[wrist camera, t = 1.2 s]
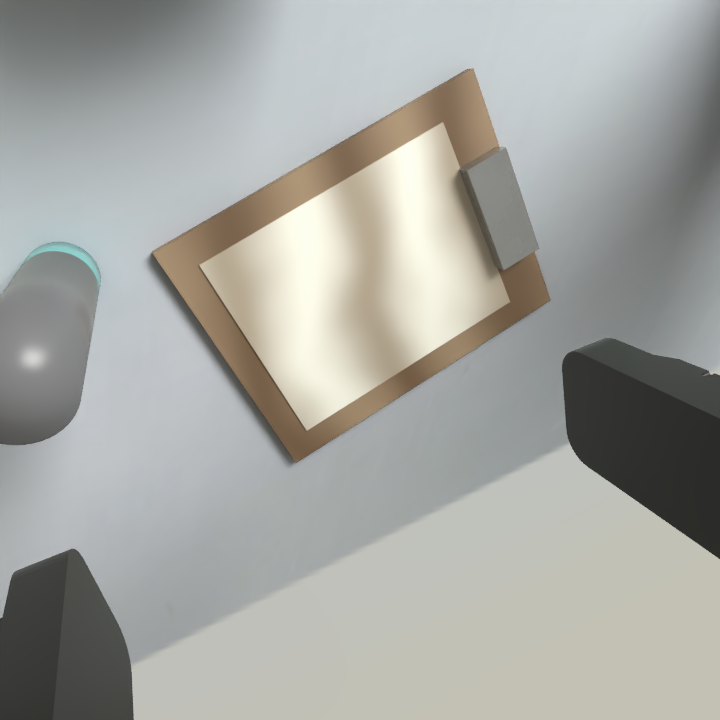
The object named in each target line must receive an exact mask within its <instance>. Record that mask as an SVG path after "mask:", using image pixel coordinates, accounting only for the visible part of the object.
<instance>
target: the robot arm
mask: <svg viewBox="0 0 720 720" xmlns="http://www.w3.org/2000/svg"><path fill="white" fill-rule="evenodd" d="M562 373H563V387H564V400H565V414H566V428H567V435H568V439H569V442H570V444H571V446H572V449H573V450H574V452H575V453H576V455H577V456H578V458H579V459H580V460H581V461H582V462H583V463H584V464H585V465H587V466H588V467H589V468H590V469H592V470H593V471H595V472H596V473H598V474H599V475H601V476H602V477H603V478H605V479H606V480H608V481H609V482H611V483H612V484H614V485H615V486H616V487H618V488H619V489H621V490H622V491H623V492H625V493H626V494H628V495H629V496H630V497H632V498H633V499H635V500H636V501H638V502H639V503H641V504H642V505H643V506H645V507H646V508H648V509H649V510H651V511H652V512H653V513H655V514H656V515H658V516H659V517H661V518H662V519H663V520H665V521H666V522H668V523H669V524H671V525H672V526H673V527H675V528H676V529H678V530H679V531H681V532H682V533H684V534H685V535H686V536H688V537H689V538H691V539H692V540H693V541H695V542H697V543H698V544H699V545H701V546H702V547H703V548H705V549H706V550H708V551H709V552H711V553H712V554H713V555H715V556H716V557H718V558H719V559H720V375H717V374H713V375H710V373H709V371H707V370H705V369H702V368H700V367H697V366H695V365H692V364H690V363H687V362H685V361H682V360H680V359H674V358H668V357H662V356H657V355H652V354H650V353H647V352H645V351H642V350H640V349H637V348H635V347H633V346H630V345H628V344H625V343H623V342H620V341H618V340H615V339H612V338H605V339H602V340H600V341H597V342H595V343H592V344H590V345H587V346H585V347H582V348H580V349H577V350H575V351H572V352H570V353H568V354H567V355H566V356H565V358H564V360H563V364H562ZM0 720H134V719H133V696H132V673H131V664H130V658H129V654H128V650H127V646H126V643H125V640H124V637H123V634H122V632H121V629H120V627H119V625H118V623H117V621H116V619H115V617H114V616H113V614H112V612H111V610H110V608H109V606H108V604H107V602H106V600H105V599H104V597H103V595H102V593H101V591H100V589H99V587H98V585H97V583H96V582H95V580H94V578H93V576H92V574H91V572H90V570H89V568H88V566H87V565H86V563H85V561H84V559H83V557H82V556H81V555H80V553H79V552H78V551H77V550H75V549H70V550H68V551H65V552H63V553H60V554H58V555H55V556H53V557H50V558H48V559H45V560H43V561H40V562H37V563H35V564H32V565H30V566H27V567H25V568H22V569H20V570H17V571H15V572H14V573H13V575H12V578H11V581H10V586H9V590H8V595H7V600H6V604H5V609H4V613H3V618H1V619H0Z"/></svg>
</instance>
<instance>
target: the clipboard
mask: <svg viewBox="0 0 720 720" xmlns="http://www.w3.org/2000/svg"><path fill="white" fill-rule="evenodd" d="M537 249H539V247H538V244H537V241H536V238H535V235H534V231H533V228H532V225H531V222H530V219H529V216H528V213H527V210H526V207H525V204H524V201H523V198H522V195H521V192H520V189H519V186H518V183H517V180H516V177H515V174H514V170H513V167H512V164H511V161H510V158H509V155H508V152H507V149H506V147H499V144H498V141H497V138H496V135H495V132H494V129H493V126H492V123H491V120H490V117H489V114H488V111H487V108H486V105H485V102H484V99H483V96H482V93H481V90H480V87H479V84H478V81H477V78H476V75H475V72H474V69H467V70H465V71H463V72H462V73H460V74H458V75H456V76H455V77H453V78H451V79H450V80H448V81H446V82H444V83H443V84H441V85H439V86H437V87H436V88H434V89H432V90H431V91H429V92H427V93H425V94H424V95H422V96H420V97H418V98H417V99H415V100H413V101H412V102H410V103H408V104H406V105H405V106H403V107H401V108H399V109H398V110H396V111H394V112H393V113H391V114H389V115H387V116H386V117H384V118H382V119H380V120H379V121H377V122H375V123H374V124H372V125H370V126H368V127H367V128H365V129H363V130H361V131H360V132H358V133H356V134H355V135H353V136H351V137H349V138H348V139H346V140H344V141H342V142H341V143H339V144H337V145H336V146H334V147H332V148H330V149H329V150H327V151H325V152H323V153H322V154H320V155H318V156H317V157H315V158H313V159H311V160H310V161H308V162H306V163H304V164H303V165H301V166H299V167H298V168H296V169H294V170H292V171H291V172H289V173H287V174H285V175H284V176H282V177H280V178H279V179H277V180H275V181H273V182H272V183H270V184H268V185H266V186H265V187H263V188H261V189H259V190H258V191H256V192H254V193H253V194H251V195H249V196H247V197H246V198H244V199H242V200H240V201H239V202H237V203H235V204H234V205H232V206H230V207H228V208H227V209H225V210H223V211H221V212H220V213H218V214H216V215H215V216H213V217H211V218H209V219H208V220H206V221H204V222H202V223H201V224H199V225H197V226H196V227H194V228H192V229H190V230H189V231H187V232H185V233H183V234H182V235H180V236H178V237H177V238H175V239H173V240H171V241H170V242H168V243H166V244H164V245H163V246H161V247H159V248H158V249H156V250H154V251H152V252H153V255H154V256H155V258H156V259H157V261H158V262H159V264H160V265H161V267H162V268H163V269H164V271H165V272H166V274H167V275H168V277H169V278H170V280H171V281H172V283H173V284H174V286H175V287H176V288H177V290H178V291H179V293H180V294H181V296H182V297H183V299H184V300H185V302H186V303H187V304H188V306H189V307H190V309H191V310H192V312H193V313H194V315H195V316H196V318H197V319H198V320H199V322H200V323H201V325H202V326H203V328H204V329H205V331H206V332H207V334H208V335H209V337H210V338H211V339H212V341H213V342H214V344H215V345H216V347H217V348H218V350H219V351H220V353H221V354H222V355H223V357H224V358H225V360H226V361H227V363H228V364H229V366H230V367H231V369H232V370H233V372H234V373H235V374H236V376H237V377H238V379H239V380H240V382H241V383H242V385H243V386H244V388H245V389H246V390H247V392H248V393H249V395H250V396H251V398H252V399H253V401H254V402H255V404H256V405H257V407H258V408H259V409H260V411H261V412H262V414H263V415H264V417H265V418H266V420H267V421H268V423H269V424H270V425H271V427H272V428H273V430H274V431H275V433H276V434H277V436H278V437H279V439H280V440H281V441H282V443H283V444H284V446H285V447H286V449H287V450H288V452H289V453H290V455H291V456H292V458H293V459H294V460H295V462H296V463H297V462H298V461H300V460H302V459H303V458H305V457H306V456H308V455H309V454H311V453H313V452H314V451H316V450H317V449H319V448H320V447H322V446H323V445H325V444H327V443H328V442H330V441H331V440H333V439H334V438H336V437H338V436H339V435H341V434H342V433H344V432H345V431H347V430H348V429H350V428H352V427H353V426H355V425H356V424H358V423H359V422H361V421H363V420H364V419H366V418H367V417H369V416H370V415H372V414H374V413H375V412H377V411H378V410H380V409H381V408H383V407H384V406H386V405H388V404H389V403H391V402H392V401H394V400H395V399H397V398H399V397H400V396H402V395H403V394H405V393H406V392H408V391H409V390H411V389H413V388H414V387H416V386H417V385H419V384H420V383H422V382H424V381H425V380H427V379H428V378H430V377H431V376H433V375H434V374H436V373H438V372H439V371H441V370H442V369H444V368H445V367H447V366H449V365H450V364H452V363H453V362H455V361H456V360H458V359H460V358H461V357H463V356H464V355H466V354H467V353H469V352H470V351H472V350H474V349H475V348H477V347H478V346H480V345H481V344H483V343H485V342H486V341H488V340H489V339H491V338H492V337H494V336H495V335H497V334H499V333H500V332H502V331H503V330H505V329H506V328H508V327H510V326H511V325H513V324H514V323H516V322H517V321H519V320H521V319H522V318H524V317H525V316H527V315H528V314H530V313H531V312H533V311H535V310H536V309H538V308H539V307H541V306H542V305H544V304H546V303H547V302H549V301H550V297H549V294H548V291H547V288H546V285H545V282H544V279H543V276H542V273H541V270H540V267H539V264H538V261H537V258H536V255H535V252H534V251H536V250H537Z"/></svg>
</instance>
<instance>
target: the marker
mask: <svg viewBox="0 0 720 720" xmlns="http://www.w3.org/2000/svg"><path fill="white" fill-rule="evenodd" d="M100 282H101V276H100V271H99V268H98V266H97V264H96V262H95V261H94V259H93V258H92V257H91V256H90V255H89V254H88V253H87V252H86V251H85V250H83V249H82V248H80V247H78V246H75V245H73V244H69V243H64V242H53V243H48V244H45V245H42V246H40V247H38V248H37V249H35V250H34V251H33V252H32V253H31V254H30V255H29V256H28V257H27V259H26V260H25V262H24V263H23V265H22V266H21V267H20V269H19V270H18V272H17V273H16V275H15V276H14V277H13V279H12V280H11V282H10V283H9V285H8V286H7V287H6V289H5V290H4V292H3V293H2V294H1V296H0V444H6V445H26V444H32V443H36V442H40V441H43V440H45V439H48V438H50V437H52V436H54V435H56V434H57V433H59V432H60V431H61V430H63V429H64V428H65V427H66V426H67V425H68V424H69V423H70V422H71V420H72V419H73V418H74V416H75V414H76V412H77V410H78V408H79V405H80V401H81V395H82V390H83V384H84V378H85V372H86V366H87V360H88V354H89V348H90V342H91V336H92V330H93V324H94V318H95V312H96V306H97V301H98V295H99V289H100Z"/></svg>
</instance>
